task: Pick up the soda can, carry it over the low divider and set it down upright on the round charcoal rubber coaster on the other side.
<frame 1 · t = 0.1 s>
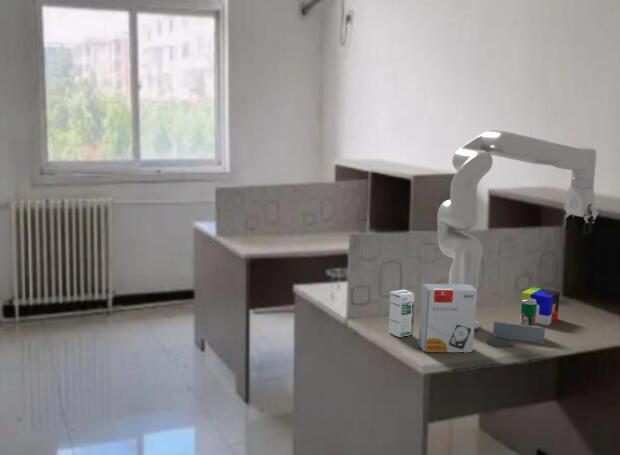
hand: (578, 231, 268), 31 cm above the table, tool pointing down, fingers open, 9 cm apart
divider: (518, 339, 245), on the table
puzzle toy: (538, 320, 269), on the table
hard drive box: (445, 349, 235), on the table
soda can: (526, 335, 251), on the table
coaster: (499, 343, 241), on the table
syrup box: (400, 335, 247), on the table
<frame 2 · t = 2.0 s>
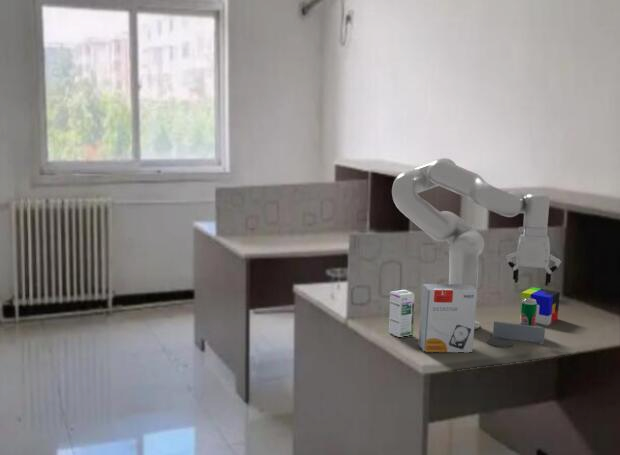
hand: (531, 283, 248), 18 cm above the table, tool pointing down, fingers open, 9 cm apart
nothing on the table moved.
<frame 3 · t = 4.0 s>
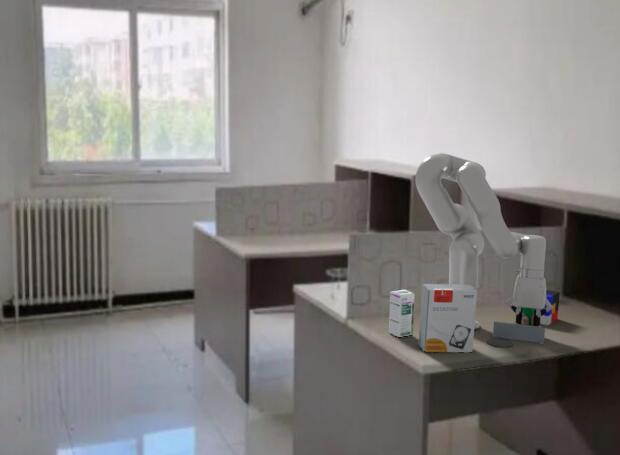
hand: (527, 326, 250), 3 cm above the table, tool pointing down, fingers closed on soda can, 5 cm apart
soda can: (526, 335, 251), on the table, touching gripper
everything else where it was.
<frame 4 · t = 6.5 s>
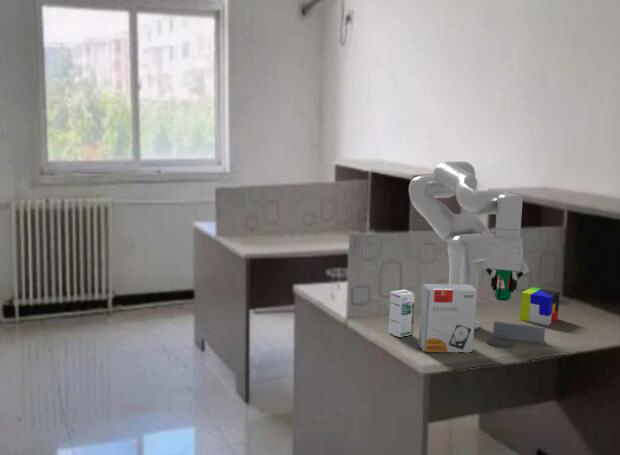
hand: (503, 289, 238), 17 cm above the table, tool pointing down, fingers closed on soda can, 5 cm apart
soda can: (502, 299, 239), point 14 cm above the table, touching gripper
everything else where it was.
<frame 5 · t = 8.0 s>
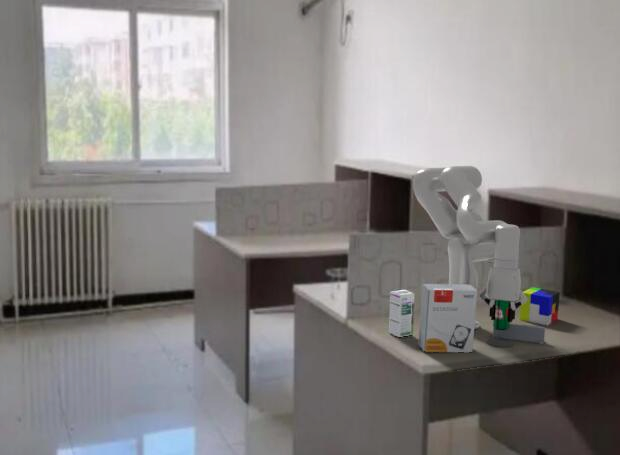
hand: (501, 319, 240), 8 cm above the table, tool pointing down, fingers closed on soda can, 5 cm apart
soda can: (501, 329, 240), point 5 cm above the table, touching gripper
everything else where it was.
when the fingers open (5 cm above the table, at t = 9.0 s): soda can drops 1 cm, resting on coaster.
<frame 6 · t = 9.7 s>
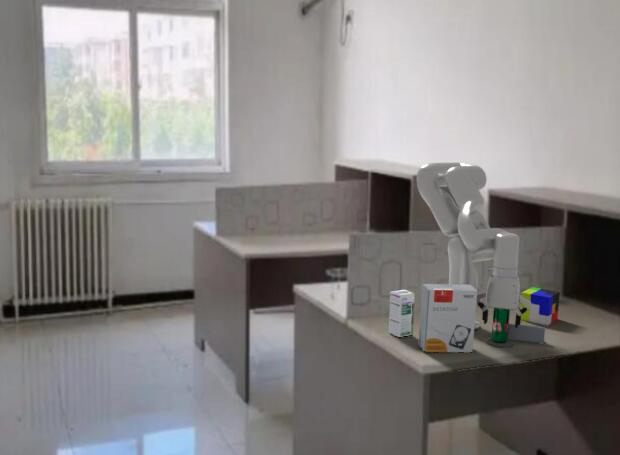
hand: (501, 324, 240), 6 cm above the table, tool pointing down, fingers open, 9 cm apart
soda can: (499, 341, 241), resting on coaster
everything else where it was.
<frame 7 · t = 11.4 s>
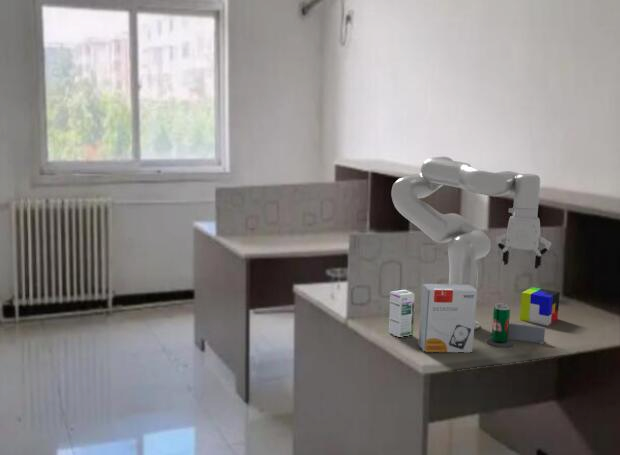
hand: (521, 265, 243), 24 cm above the table, tool pointing down, fingers open, 9 cm apart
nothing on the table moved.
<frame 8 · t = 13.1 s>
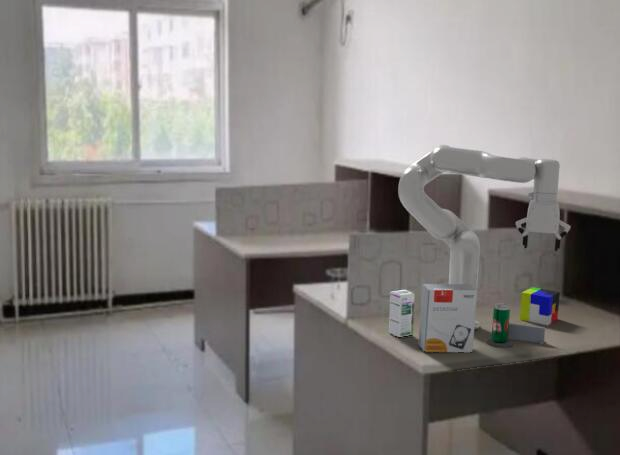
hand: (540, 249, 249), 28 cm above the table, tool pointing down, fingers open, 9 cm apart
nothing on the table moved.
at the end: soda can 0.2 cm from the coaster (horizontally); soda can tilted 1°; the gripper is holding nothing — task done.
